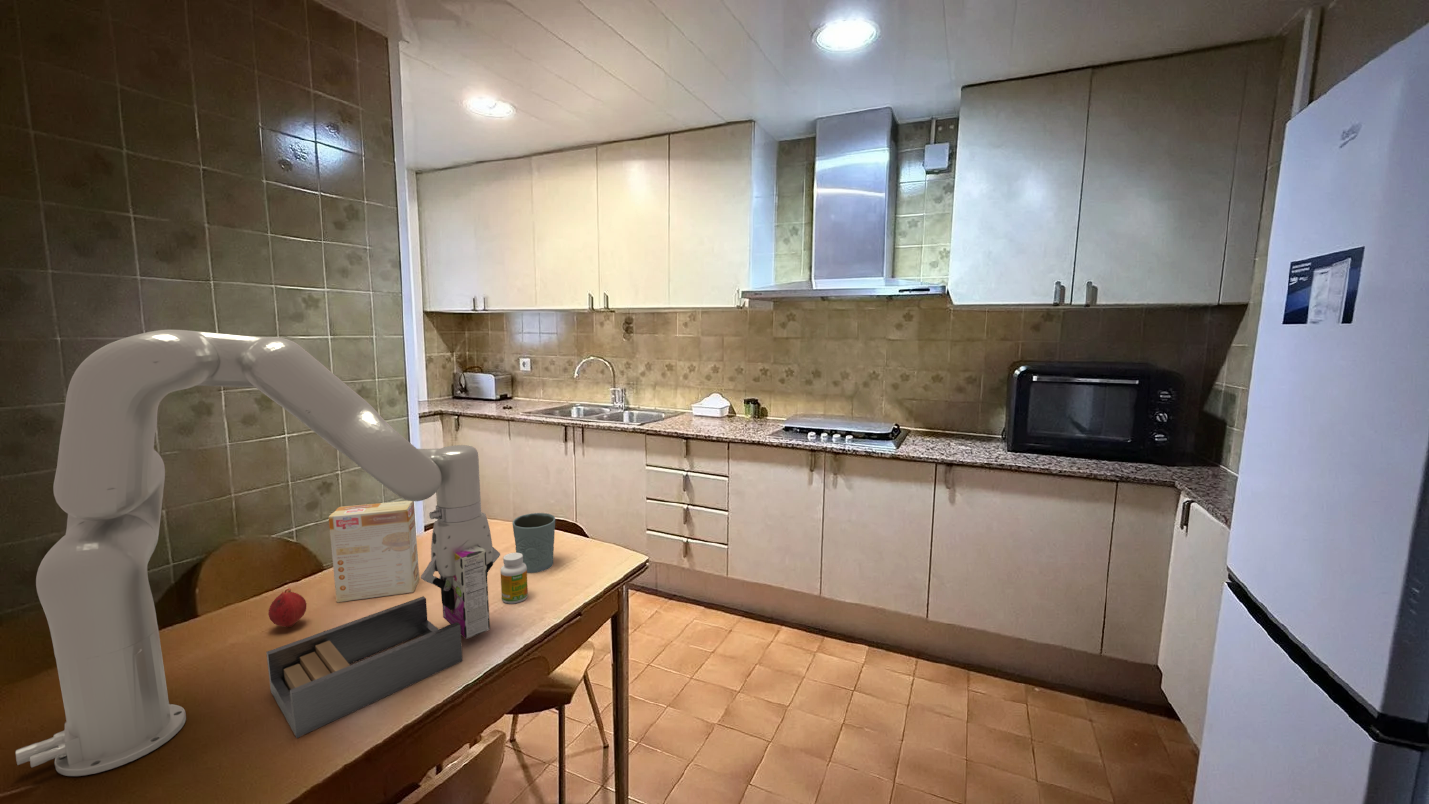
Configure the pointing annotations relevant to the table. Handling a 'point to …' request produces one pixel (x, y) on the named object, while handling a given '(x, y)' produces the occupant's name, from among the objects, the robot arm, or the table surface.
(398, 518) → the coffeecake box
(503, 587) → the supplement bottle
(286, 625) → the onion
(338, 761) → the table surface
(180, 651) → the table surface
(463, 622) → the candy bar box
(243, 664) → the table surface
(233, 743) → the table surface
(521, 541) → the grey green cup
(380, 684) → the rack
